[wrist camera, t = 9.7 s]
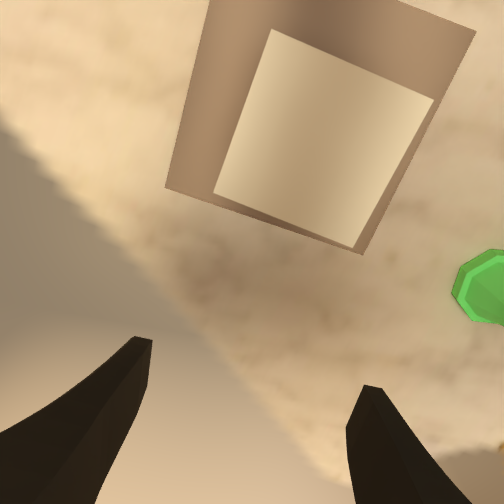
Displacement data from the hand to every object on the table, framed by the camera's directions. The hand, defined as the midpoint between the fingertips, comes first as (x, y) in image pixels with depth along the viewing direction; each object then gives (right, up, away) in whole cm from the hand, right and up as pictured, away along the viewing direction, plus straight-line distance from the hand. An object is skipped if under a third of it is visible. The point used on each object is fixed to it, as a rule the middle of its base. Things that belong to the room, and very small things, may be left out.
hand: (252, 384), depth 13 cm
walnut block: (+2, +11, +5) cm, 13 cm away
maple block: (+2, +9, +2) cm, 10 cm away
